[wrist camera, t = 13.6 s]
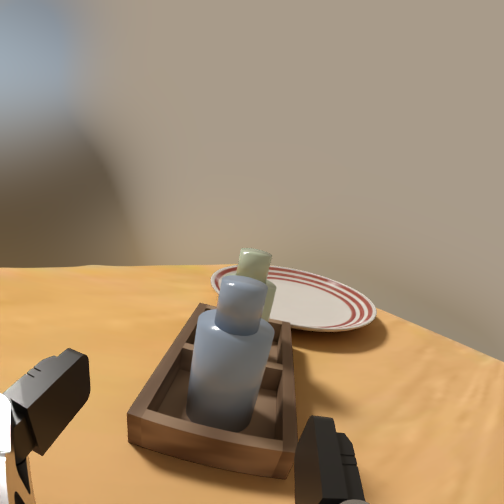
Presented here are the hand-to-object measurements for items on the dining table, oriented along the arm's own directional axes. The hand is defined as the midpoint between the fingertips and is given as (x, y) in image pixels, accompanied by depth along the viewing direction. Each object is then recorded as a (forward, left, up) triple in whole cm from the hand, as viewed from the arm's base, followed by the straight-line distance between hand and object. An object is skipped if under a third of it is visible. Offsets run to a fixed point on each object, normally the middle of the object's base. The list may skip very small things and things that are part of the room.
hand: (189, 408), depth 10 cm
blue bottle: (+1, +11, -10) cm, 15 cm away
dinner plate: (+8, +41, -11) cm, 43 cm away
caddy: (+1, +16, -10) cm, 19 cm away
